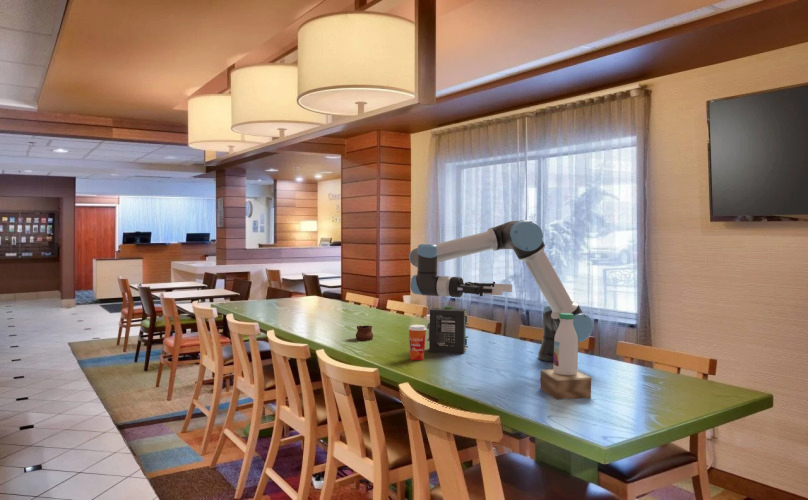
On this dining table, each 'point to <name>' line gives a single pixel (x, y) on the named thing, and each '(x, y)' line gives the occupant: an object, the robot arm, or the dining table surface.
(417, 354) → the paper cup
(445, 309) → the router
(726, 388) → the dining table surface
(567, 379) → the block
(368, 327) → the ceramic pot
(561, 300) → the robot arm
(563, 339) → the milk bottle
